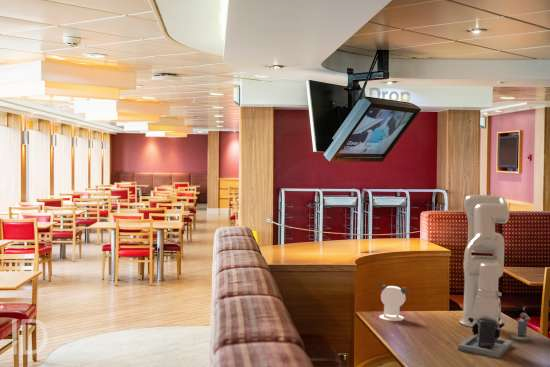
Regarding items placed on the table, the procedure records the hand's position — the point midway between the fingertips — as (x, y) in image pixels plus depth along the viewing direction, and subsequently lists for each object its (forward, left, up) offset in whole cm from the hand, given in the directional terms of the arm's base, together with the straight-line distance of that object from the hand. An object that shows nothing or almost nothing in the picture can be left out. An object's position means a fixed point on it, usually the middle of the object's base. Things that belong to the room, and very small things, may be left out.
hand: (485, 336), depth 267 cm
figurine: (-22, +9, -5) cm, 24 cm away
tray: (0, 0, -5) cm, 5 cm away
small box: (0, 0, -3) cm, 3 cm away
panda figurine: (-20, -49, -5) cm, 53 cm away
